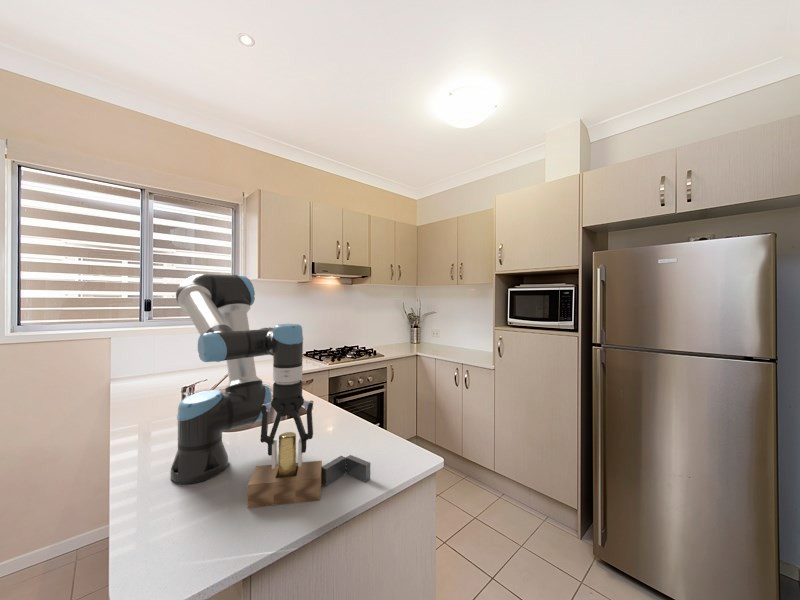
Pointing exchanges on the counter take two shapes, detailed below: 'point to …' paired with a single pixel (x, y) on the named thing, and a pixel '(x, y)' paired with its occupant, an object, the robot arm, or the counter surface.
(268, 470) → the wooden block with hole
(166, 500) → the counter surface
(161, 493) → the counter surface
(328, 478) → the v block
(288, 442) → the axle
